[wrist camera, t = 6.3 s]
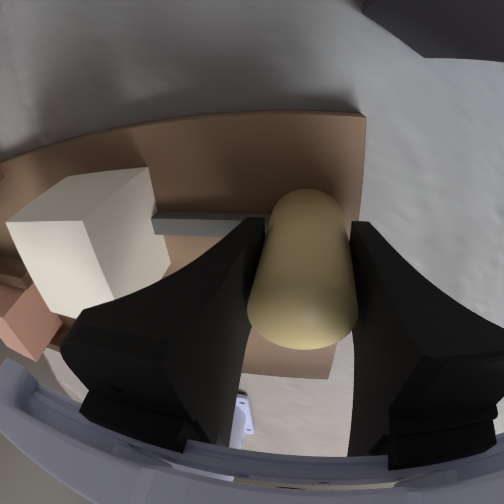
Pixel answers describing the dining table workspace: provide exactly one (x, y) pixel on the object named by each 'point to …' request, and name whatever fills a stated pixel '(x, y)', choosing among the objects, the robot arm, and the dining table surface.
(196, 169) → the shelf
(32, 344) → the untied block
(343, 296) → the tethered block
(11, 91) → the dining table surface
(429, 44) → the calculator
